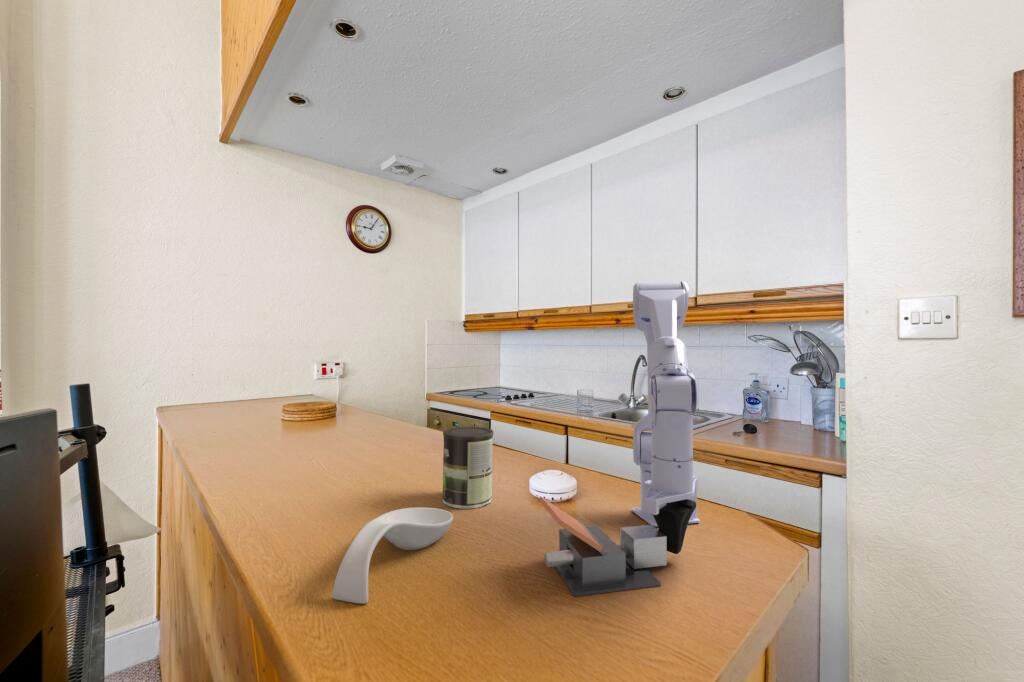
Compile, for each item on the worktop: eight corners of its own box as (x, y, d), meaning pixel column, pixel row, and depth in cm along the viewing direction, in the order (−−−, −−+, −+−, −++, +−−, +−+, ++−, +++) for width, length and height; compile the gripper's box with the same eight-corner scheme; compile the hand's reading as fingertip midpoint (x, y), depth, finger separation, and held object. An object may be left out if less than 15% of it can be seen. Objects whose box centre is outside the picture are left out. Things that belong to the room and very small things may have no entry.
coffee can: (439, 510, 80) (440, 436, 80) (444, 492, 90) (445, 426, 90) (493, 509, 81) (494, 435, 81) (491, 491, 91) (492, 426, 91)
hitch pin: (651, 551, 62) (651, 524, 63) (666, 565, 58) (666, 536, 59) (542, 563, 59) (542, 534, 59) (550, 578, 55) (551, 547, 55)
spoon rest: (400, 523, 74) (400, 482, 74) (462, 529, 72) (463, 487, 72) (307, 599, 51) (309, 540, 51) (395, 613, 49) (396, 551, 49)
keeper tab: (578, 527, 63) (581, 522, 63) (605, 557, 54) (609, 550, 54) (537, 500, 61) (540, 495, 62) (557, 525, 52) (561, 519, 53)
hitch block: (620, 547, 65) (620, 520, 65) (660, 585, 54) (660, 553, 55) (547, 554, 62) (547, 527, 63) (574, 596, 52) (574, 563, 52)
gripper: (666, 445, 69) (666, 527, 69) (622, 460, 59) (622, 557, 59) (711, 452, 64) (711, 541, 64) (671, 470, 54) (671, 577, 54)
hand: (672, 550), depth 61 cm, fingers closed
